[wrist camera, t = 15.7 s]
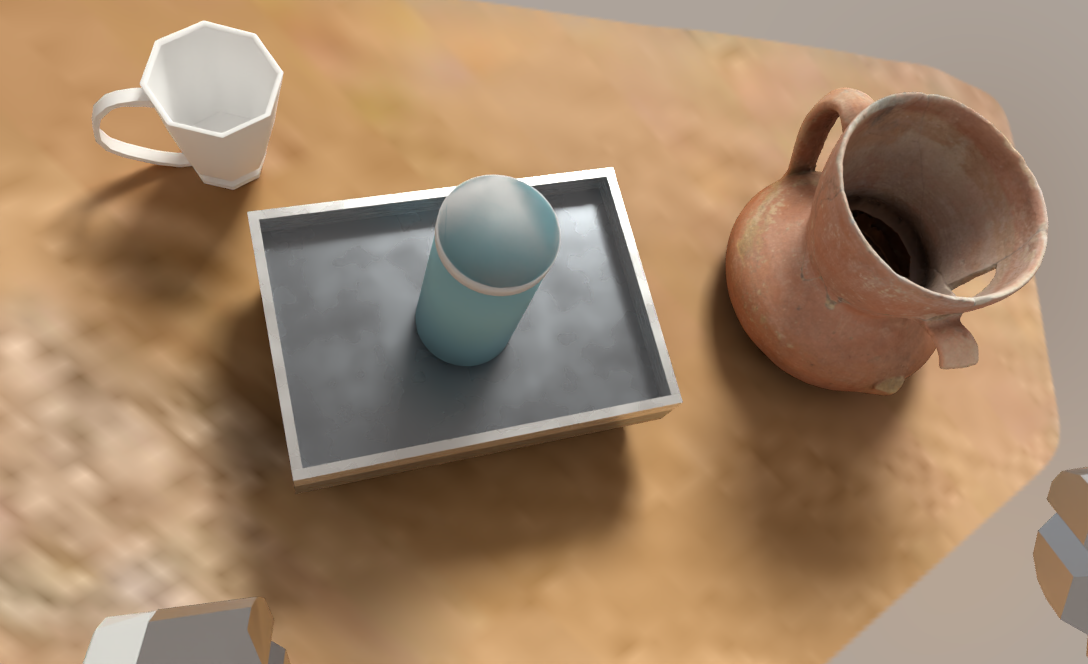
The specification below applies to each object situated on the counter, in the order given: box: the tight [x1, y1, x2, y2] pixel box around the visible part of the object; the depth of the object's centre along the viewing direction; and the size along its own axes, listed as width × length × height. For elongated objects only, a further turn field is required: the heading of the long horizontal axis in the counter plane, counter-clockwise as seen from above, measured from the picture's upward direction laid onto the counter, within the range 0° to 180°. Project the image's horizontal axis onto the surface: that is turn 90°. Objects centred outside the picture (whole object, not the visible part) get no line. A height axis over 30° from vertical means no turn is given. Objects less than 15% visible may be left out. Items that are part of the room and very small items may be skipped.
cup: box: [92, 21, 283, 190], centre depth 51 cm, size 7×10×8 cm
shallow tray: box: [247, 167, 683, 494], centre depth 51 cm, size 20×14×6 cm
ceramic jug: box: [726, 87, 1048, 396], centre depth 55 cm, size 18×14×14 cm
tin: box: [415, 175, 561, 366], centre depth 45 cm, size 5×5×11 cm
